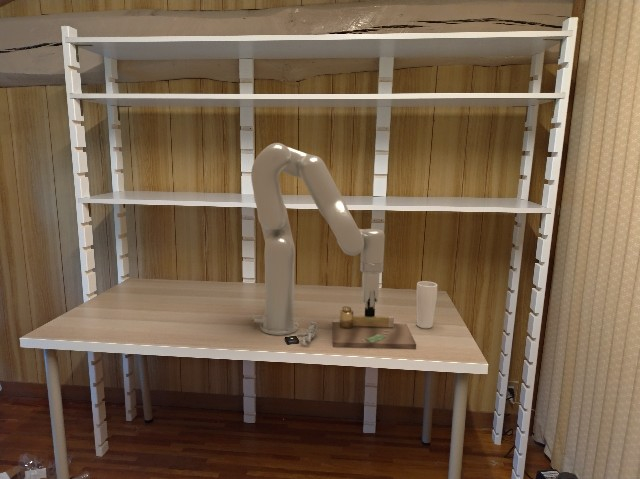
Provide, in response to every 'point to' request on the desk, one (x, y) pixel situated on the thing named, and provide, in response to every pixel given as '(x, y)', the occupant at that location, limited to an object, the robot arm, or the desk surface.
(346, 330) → the wooden cutting board
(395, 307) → the desk surface
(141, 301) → the desk surface
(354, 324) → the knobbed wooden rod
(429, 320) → the drinking glass
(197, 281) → the desk surface
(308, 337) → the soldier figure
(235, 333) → the desk surface
